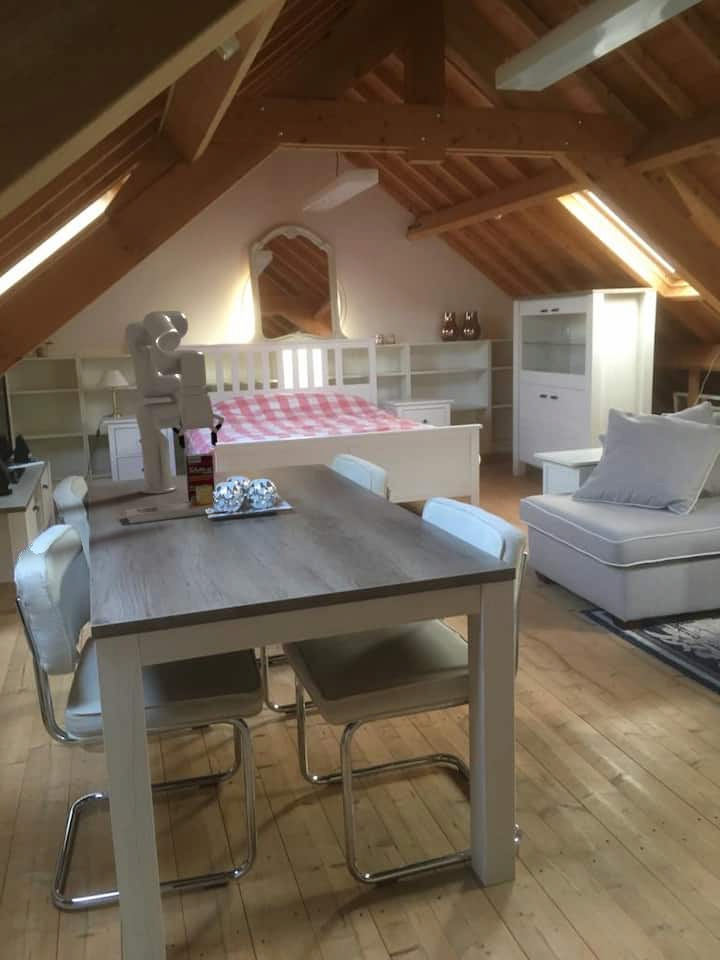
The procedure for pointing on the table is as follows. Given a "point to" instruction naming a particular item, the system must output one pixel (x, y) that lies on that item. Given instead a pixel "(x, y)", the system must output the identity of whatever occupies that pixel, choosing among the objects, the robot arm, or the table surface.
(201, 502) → the yellow rectangular block
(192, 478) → the supplement box
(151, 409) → the robot arm
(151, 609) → the table surface
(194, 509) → the grey board
